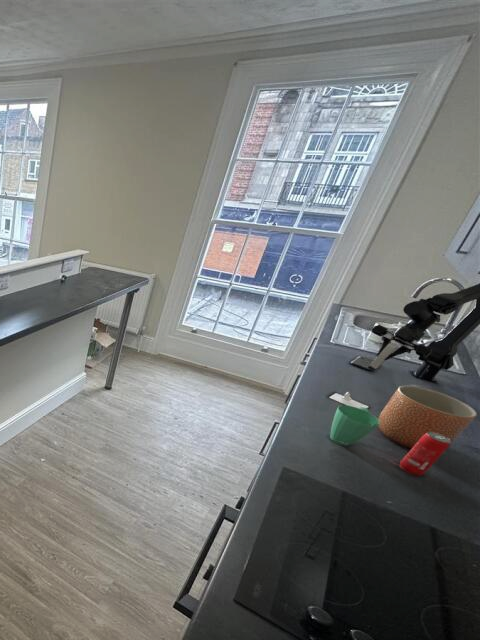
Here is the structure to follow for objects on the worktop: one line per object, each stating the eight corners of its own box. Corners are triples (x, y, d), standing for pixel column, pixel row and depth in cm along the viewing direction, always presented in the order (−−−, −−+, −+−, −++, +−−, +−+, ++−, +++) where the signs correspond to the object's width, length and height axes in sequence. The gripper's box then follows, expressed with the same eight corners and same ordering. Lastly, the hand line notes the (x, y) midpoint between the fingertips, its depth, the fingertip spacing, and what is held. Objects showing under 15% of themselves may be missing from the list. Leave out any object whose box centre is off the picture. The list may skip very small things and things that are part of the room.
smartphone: (350, 362, 174) (360, 355, 182) (349, 363, 174) (359, 356, 182) (371, 369, 169) (381, 362, 177) (370, 371, 170) (380, 363, 177)
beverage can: (392, 463, 116) (420, 431, 109) (408, 463, 116) (436, 431, 110) (411, 476, 111) (441, 443, 105) (427, 476, 112) (457, 443, 106)
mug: (355, 455, 118) (375, 428, 112) (316, 437, 124) (334, 411, 119) (367, 438, 126) (387, 413, 120) (330, 422, 132) (347, 397, 127)
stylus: (371, 365, 165) (391, 342, 155) (377, 368, 163) (399, 345, 153) (367, 367, 164) (387, 344, 154) (373, 371, 163) (395, 348, 153)
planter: (438, 441, 127) (473, 402, 120) (442, 466, 116) (481, 424, 109) (370, 417, 137) (398, 379, 129) (367, 438, 126) (398, 398, 118)
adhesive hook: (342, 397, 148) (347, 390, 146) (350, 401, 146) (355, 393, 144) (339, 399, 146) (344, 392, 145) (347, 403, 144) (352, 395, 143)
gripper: (389, 307, 153) (354, 340, 159) (449, 334, 141) (408, 368, 147) (389, 315, 161) (355, 346, 166) (446, 341, 149) (407, 373, 155)
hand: (380, 358), depth 158 cm, fingers closed on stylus, 2 cm apart
